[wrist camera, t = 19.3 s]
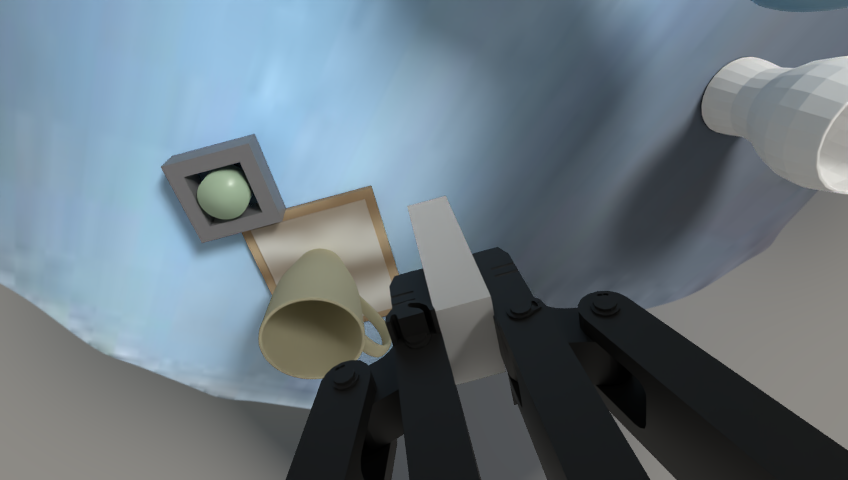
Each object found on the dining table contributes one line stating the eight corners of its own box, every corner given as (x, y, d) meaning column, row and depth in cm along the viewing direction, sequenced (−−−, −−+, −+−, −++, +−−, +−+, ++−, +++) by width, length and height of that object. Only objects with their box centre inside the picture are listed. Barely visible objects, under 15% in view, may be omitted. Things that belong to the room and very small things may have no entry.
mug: (291, 314, 53) (277, 395, 43) (267, 238, 49) (244, 308, 38) (387, 297, 54) (396, 372, 44) (372, 221, 49) (378, 284, 39)
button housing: (171, 156, 44) (160, 166, 42) (254, 133, 44) (248, 143, 42) (210, 228, 48) (202, 243, 45) (286, 208, 48) (282, 221, 46)
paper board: (238, 221, 48) (237, 224, 47) (371, 185, 48) (371, 188, 48) (294, 337, 56) (294, 341, 55) (408, 306, 56) (409, 310, 55)
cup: (728, 163, 53) (853, 222, 40) (667, 113, 49) (782, 161, 36) (805, 78, 49) (970, 113, 36) (745, 18, 45) (905, 32, 32)
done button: (197, 171, 44) (188, 182, 42) (242, 159, 44) (236, 169, 42) (217, 212, 47) (210, 224, 44) (260, 200, 47) (255, 212, 44)
